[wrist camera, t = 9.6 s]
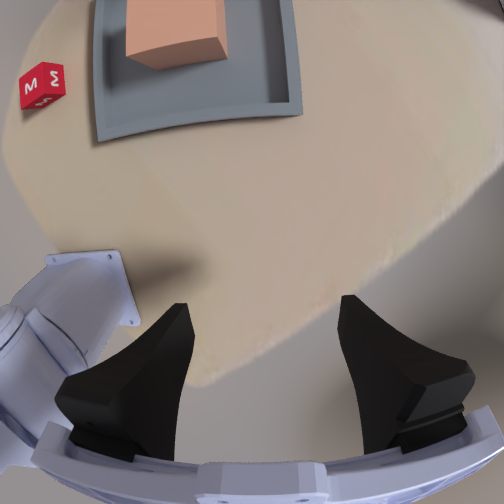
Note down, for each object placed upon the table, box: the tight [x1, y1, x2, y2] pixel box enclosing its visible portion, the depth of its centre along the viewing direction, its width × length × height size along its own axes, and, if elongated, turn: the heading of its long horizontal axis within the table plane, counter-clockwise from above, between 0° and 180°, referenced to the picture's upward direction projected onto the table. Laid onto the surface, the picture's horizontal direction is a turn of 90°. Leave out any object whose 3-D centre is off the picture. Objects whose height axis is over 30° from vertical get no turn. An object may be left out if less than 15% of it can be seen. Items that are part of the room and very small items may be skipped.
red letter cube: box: [19, 62, 66, 110], centre depth 14 cm, size 3×3×3 cm
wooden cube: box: [126, 0, 228, 70], centre depth 12 cm, size 5×5×5 cm
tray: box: [93, 0, 303, 142], centre depth 14 cm, size 14×14×2 cm
